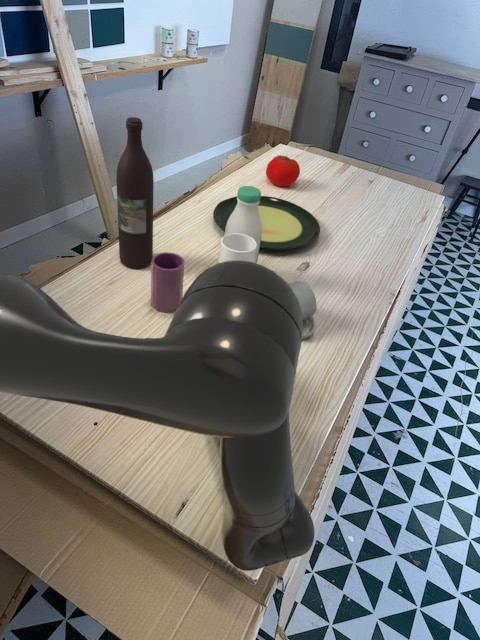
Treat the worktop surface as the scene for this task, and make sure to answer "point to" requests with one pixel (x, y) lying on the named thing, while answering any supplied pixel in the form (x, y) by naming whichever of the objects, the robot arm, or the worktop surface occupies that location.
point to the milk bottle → (246, 215)
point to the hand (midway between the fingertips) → (212, 338)
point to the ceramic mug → (305, 303)
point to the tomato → (282, 171)
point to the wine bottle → (135, 200)
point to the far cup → (166, 281)
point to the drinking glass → (237, 248)
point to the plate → (276, 222)
